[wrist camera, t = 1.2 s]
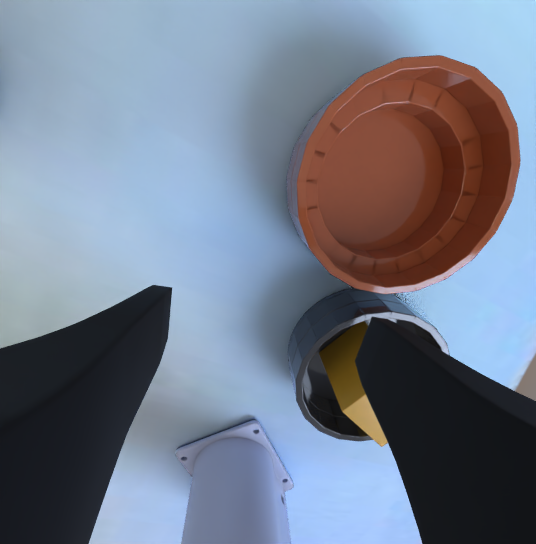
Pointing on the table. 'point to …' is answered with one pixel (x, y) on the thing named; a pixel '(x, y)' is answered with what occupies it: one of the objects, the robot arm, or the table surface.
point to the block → (351, 381)
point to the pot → (327, 328)
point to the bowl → (404, 174)
